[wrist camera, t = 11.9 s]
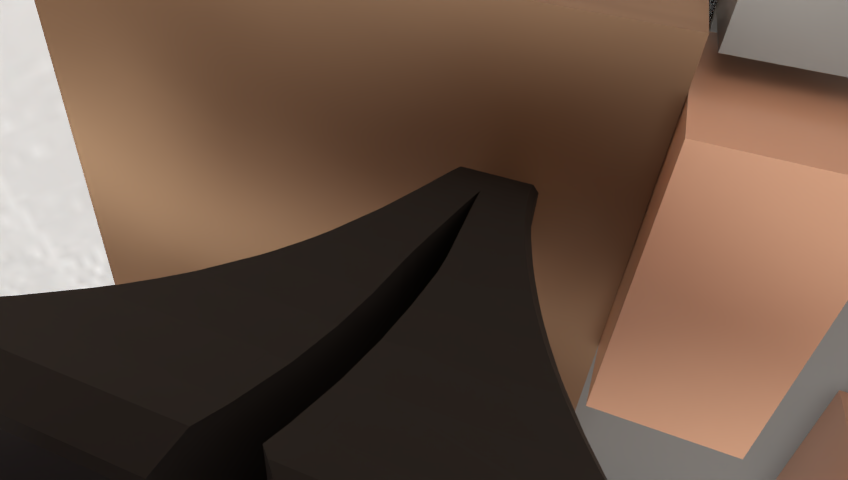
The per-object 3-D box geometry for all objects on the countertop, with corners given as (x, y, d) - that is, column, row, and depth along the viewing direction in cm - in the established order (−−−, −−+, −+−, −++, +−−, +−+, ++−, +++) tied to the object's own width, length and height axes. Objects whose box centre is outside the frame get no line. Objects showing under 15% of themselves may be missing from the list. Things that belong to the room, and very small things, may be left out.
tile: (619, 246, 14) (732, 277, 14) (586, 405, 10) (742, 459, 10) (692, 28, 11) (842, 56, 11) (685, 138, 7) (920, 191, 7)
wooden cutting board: (533, 496, 21) (503, 611, 18) (235, 381, 24) (166, 464, 21) (708, -27, 11) (709, 32, 8) (161, -115, 14) (7, -96, 11)
